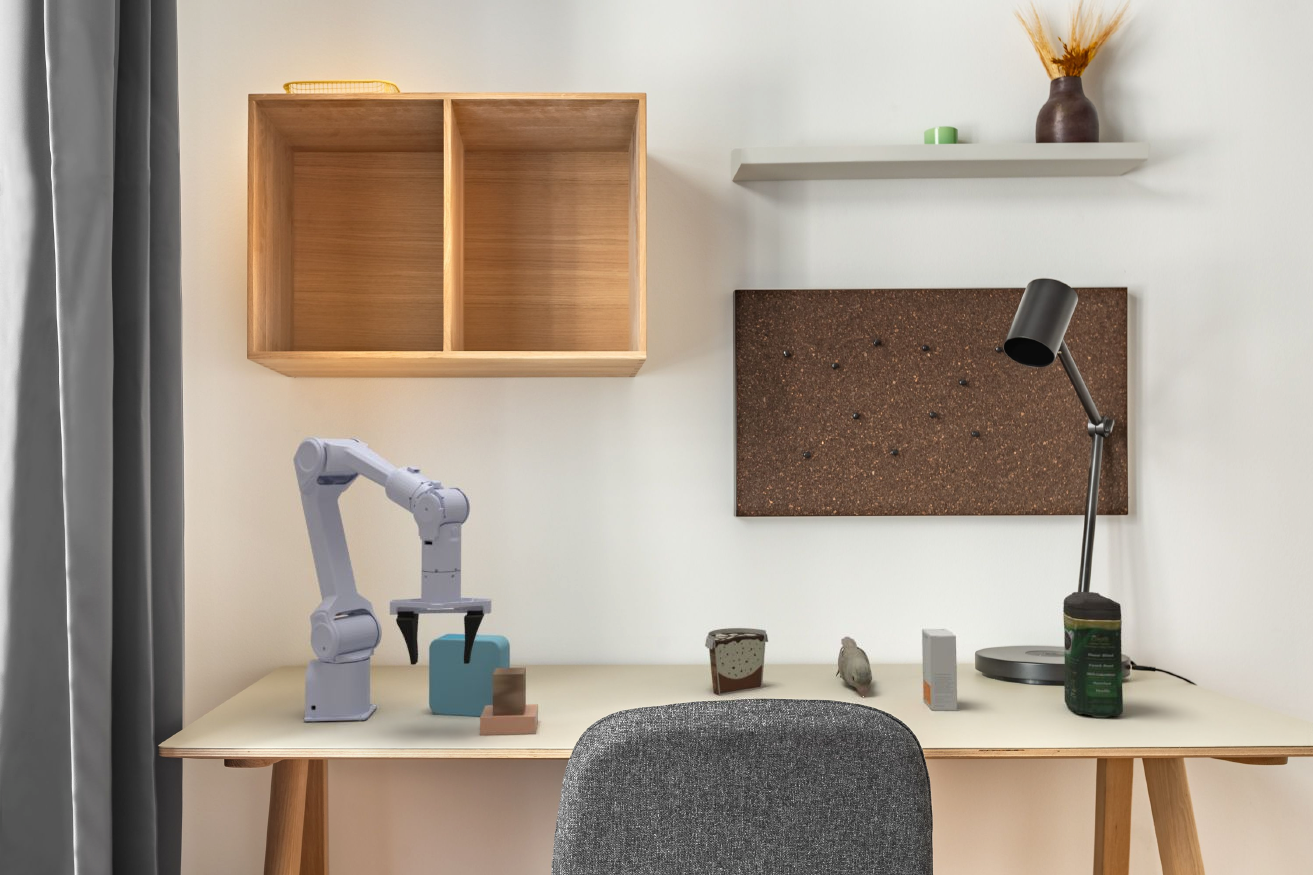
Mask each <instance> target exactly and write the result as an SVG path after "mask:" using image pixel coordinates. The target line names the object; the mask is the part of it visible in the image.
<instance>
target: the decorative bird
mask: <svg viewBox="0 0 1313 875" xmlns="http://www.w3.org/2000/svg"><path fill="white" fill-rule="evenodd" d="M840 640H841V642H840V644H841V647H840V649H839V653H838V657H837V667H838V669H837V672H836V675H835V677H837V676H838V675H839V677H840V678H841V679H842V681H843V682H844V683H845V684H847V685H848V686H852V687H853V688H855V689H856V690H857V692H858V694H859V695H860V696H861V697H862V696H864V697H863V698H866V697H865V696H867V695H868V693H869V691H870V687H871V683H872V680H873V675H872V669H871V664H870V661H869V658H868V655H867V653H866V652H865V650H863V649H862V648H861V647H859V646H858V644H857V642H856V641H855V639H854V638H851V637H850V636H844V638H841V639H840Z"/></svg>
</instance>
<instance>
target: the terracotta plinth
mask: <svg viewBox="0 0 1313 875" xmlns="http://www.w3.org/2000/svg"><path fill="white" fill-rule="evenodd" d="M538 722H539V704H537V703H536V704H533V703H532V704H531V703H530V704H529V703H527V704H526V708H525V712H524V715H504V716H493V705H486V706H485V708H484V710H483V712H482V715H481V717H479V735H480V736H498V735H499V736H500V735H533V734H534V735H535V734H536V731H537V727H538Z"/></svg>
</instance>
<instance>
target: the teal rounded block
mask: <svg viewBox="0 0 1313 875" xmlns="http://www.w3.org/2000/svg"><path fill="white" fill-rule="evenodd" d="M510 645H511V644H510V642H509V640H508V638H507V637H505V636H504V635H498V634H497V635H496V634H476V637H475V640H474V643H473V647H472V652H471V659H470V662H469V664H464V648H465V633H464V634H463V633H446V634H444V635H441V636H439V637H437V638H435V639H433V640H432V641H431V642H430V644H429V648H428V652H429V654H428V657H429V658H428V669H429V670H428V677H429V678H428V704H429V709H430V711H431V712H432V713H434V714H436V715H440V716H441V715H443V716H461V717H463V716H464V717H478V718H480V717H481V715H482V712H483V710H484V708H485V706H486V705H493V673H494V671H495V669H496V668H511V660H510V659H511V657H510V656H511V654H510V653H511V652H510V651H511V649H510V648H511V646H510Z"/></svg>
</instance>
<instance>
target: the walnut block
mask: <svg viewBox="0 0 1313 875" xmlns="http://www.w3.org/2000/svg"><path fill="white" fill-rule="evenodd" d="M526 670H527V667H525V666H524V667H523V666H522V667H510V668H496V669H495V671H494V673H493V716H504V715H524V712H525V708H526V705H527V702H526V701H527V698H526V697H527V693H526V692H527V688H526V687H527V683H526V678H527V677H526V676H527V672H526Z"/></svg>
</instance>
